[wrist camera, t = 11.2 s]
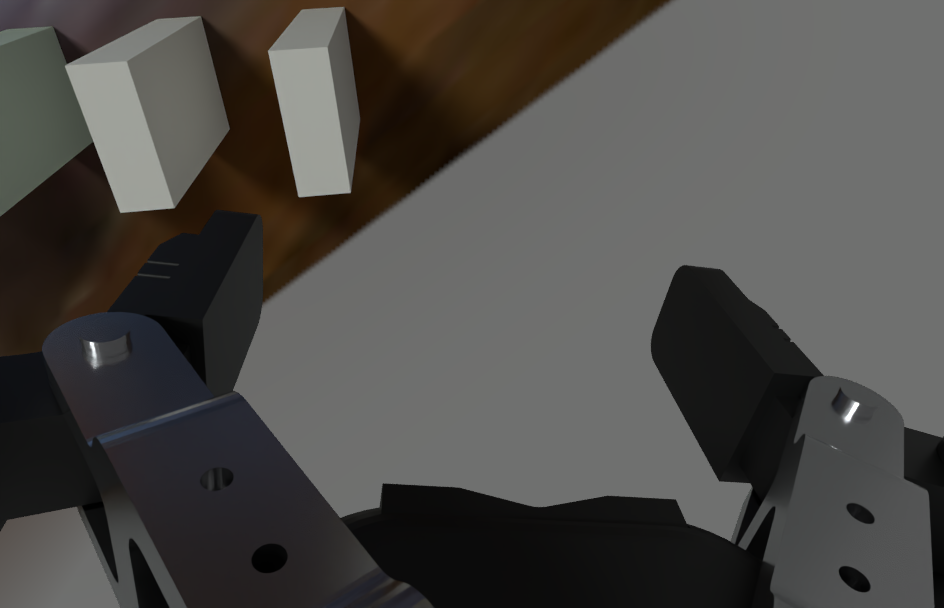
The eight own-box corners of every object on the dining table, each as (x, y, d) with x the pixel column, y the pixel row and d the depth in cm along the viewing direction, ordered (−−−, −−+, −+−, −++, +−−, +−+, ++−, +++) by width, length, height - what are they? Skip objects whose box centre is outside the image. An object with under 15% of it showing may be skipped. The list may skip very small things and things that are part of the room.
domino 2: (190, 132, 29) (120, 212, 21) (157, 19, 26) (64, 65, 19) (229, 129, 29) (174, 207, 22) (200, 16, 26) (126, 61, 19)
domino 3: (321, 121, 29) (298, 197, 22) (301, 9, 27) (268, 51, 19) (360, 118, 30) (350, 192, 22) (344, 6, 27) (327, 47, 19)
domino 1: (52, 26, 26) (-84, 76, 19) (95, 139, 29) (-10, 224, 21) (7, 29, 26) (-149, 80, 18) (54, 142, 29) (-66, 228, 21)
